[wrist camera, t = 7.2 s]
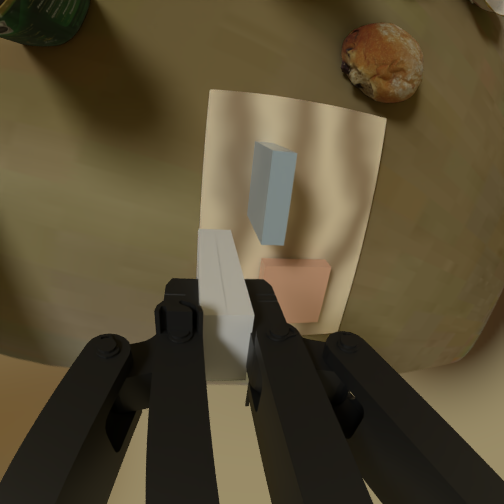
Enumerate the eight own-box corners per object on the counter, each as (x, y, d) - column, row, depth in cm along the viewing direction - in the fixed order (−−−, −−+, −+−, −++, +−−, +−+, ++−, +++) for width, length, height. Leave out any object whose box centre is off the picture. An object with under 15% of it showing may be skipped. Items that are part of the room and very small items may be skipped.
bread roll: (384, 103, 35) (437, 107, 29) (335, 101, 30) (399, 102, 24) (378, 34, 31) (431, 31, 25) (327, 19, 26) (389, 7, 20)
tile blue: (247, 214, 34) (261, 244, 27) (254, 141, 31) (272, 150, 23) (267, 215, 34) (286, 245, 27) (276, 143, 31) (300, 153, 24)
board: (196, 332, 41) (197, 337, 40) (209, 90, 29) (210, 89, 28) (334, 327, 45) (337, 332, 44) (381, 118, 32) (386, 118, 31)
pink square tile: (256, 324, 38) (317, 322, 39) (264, 266, 34) (331, 266, 36) (253, 313, 40) (312, 312, 41) (260, 257, 36) (324, 258, 38)
